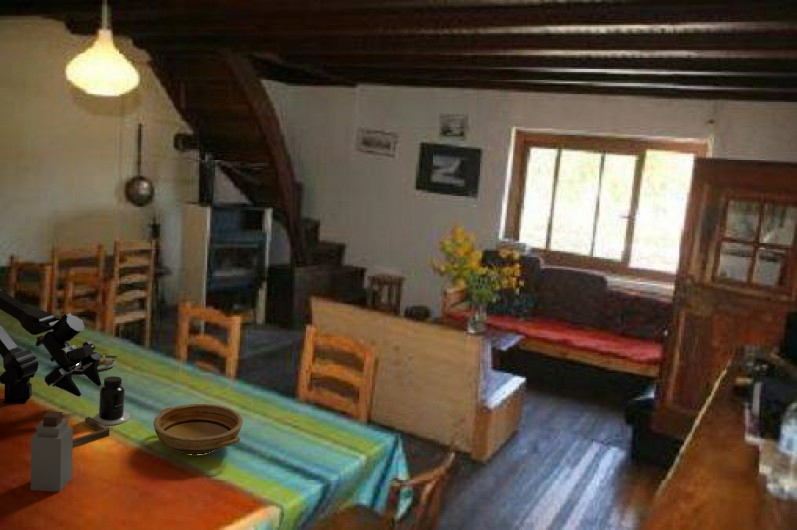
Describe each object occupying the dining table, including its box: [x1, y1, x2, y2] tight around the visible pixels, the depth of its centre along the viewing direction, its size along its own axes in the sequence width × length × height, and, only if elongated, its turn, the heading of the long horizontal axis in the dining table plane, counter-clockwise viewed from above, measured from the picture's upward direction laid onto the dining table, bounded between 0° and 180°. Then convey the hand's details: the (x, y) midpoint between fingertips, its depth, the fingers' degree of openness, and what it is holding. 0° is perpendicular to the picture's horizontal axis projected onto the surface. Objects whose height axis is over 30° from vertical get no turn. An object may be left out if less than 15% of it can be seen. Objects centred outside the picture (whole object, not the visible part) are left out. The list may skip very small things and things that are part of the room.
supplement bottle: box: [98, 375, 126, 421], centre depth 195 cm, size 7×7×12 cm
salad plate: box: [70, 352, 118, 375], centre depth 237 cm, size 19×18×5 cm
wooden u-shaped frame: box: [73, 416, 111, 448], centre depth 183 cm, size 11×12×2 cm
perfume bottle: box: [30, 410, 74, 493], centre depth 156 cm, size 7×7×18 cm
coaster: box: [93, 411, 131, 426], centre depth 196 cm, size 10×10×1 cm
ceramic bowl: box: [153, 403, 244, 456], centre depth 183 cm, size 30×24×8 cm
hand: (90, 390), depth 196 cm, fingers open, 9 cm apart
